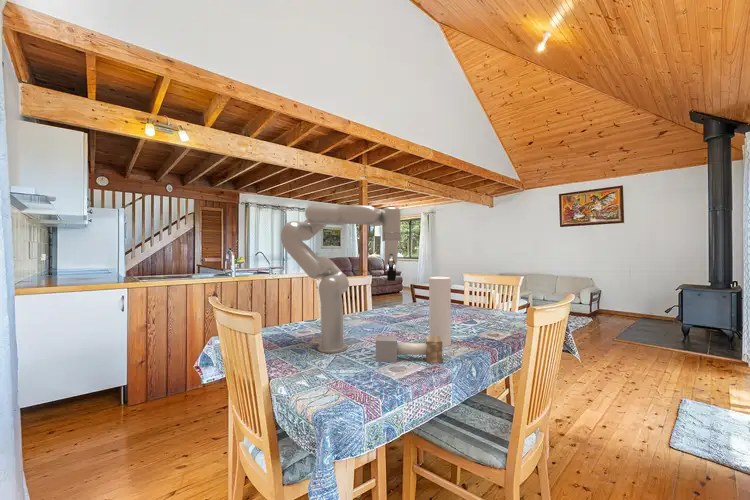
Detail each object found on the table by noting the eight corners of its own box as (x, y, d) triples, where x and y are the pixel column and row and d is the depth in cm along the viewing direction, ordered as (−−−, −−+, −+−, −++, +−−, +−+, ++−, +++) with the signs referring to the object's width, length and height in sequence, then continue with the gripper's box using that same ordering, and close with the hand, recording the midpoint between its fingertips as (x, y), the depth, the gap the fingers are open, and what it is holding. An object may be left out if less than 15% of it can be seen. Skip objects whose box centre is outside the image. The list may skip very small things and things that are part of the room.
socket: (427, 362, 122) (427, 341, 122) (426, 356, 129) (426, 336, 129) (442, 362, 122) (442, 341, 121) (440, 356, 128) (440, 336, 128)
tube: (394, 356, 124) (394, 344, 124) (394, 352, 129) (394, 340, 129) (434, 357, 123) (433, 345, 123) (432, 353, 128) (432, 341, 127)
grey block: (375, 361, 124) (375, 340, 124) (377, 355, 131) (377, 335, 131) (396, 362, 123) (396, 341, 123) (397, 355, 130) (397, 335, 130)
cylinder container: (449, 340, 150) (449, 275, 150) (452, 346, 141) (451, 277, 140) (428, 340, 151) (428, 275, 150) (430, 346, 142) (429, 277, 141)
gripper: (383, 238, 142) (383, 277, 142) (380, 237, 125) (381, 281, 125) (400, 238, 141) (401, 277, 141) (400, 237, 124) (400, 281, 124)
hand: (391, 279), depth 133 cm, fingers open, 9 cm apart
